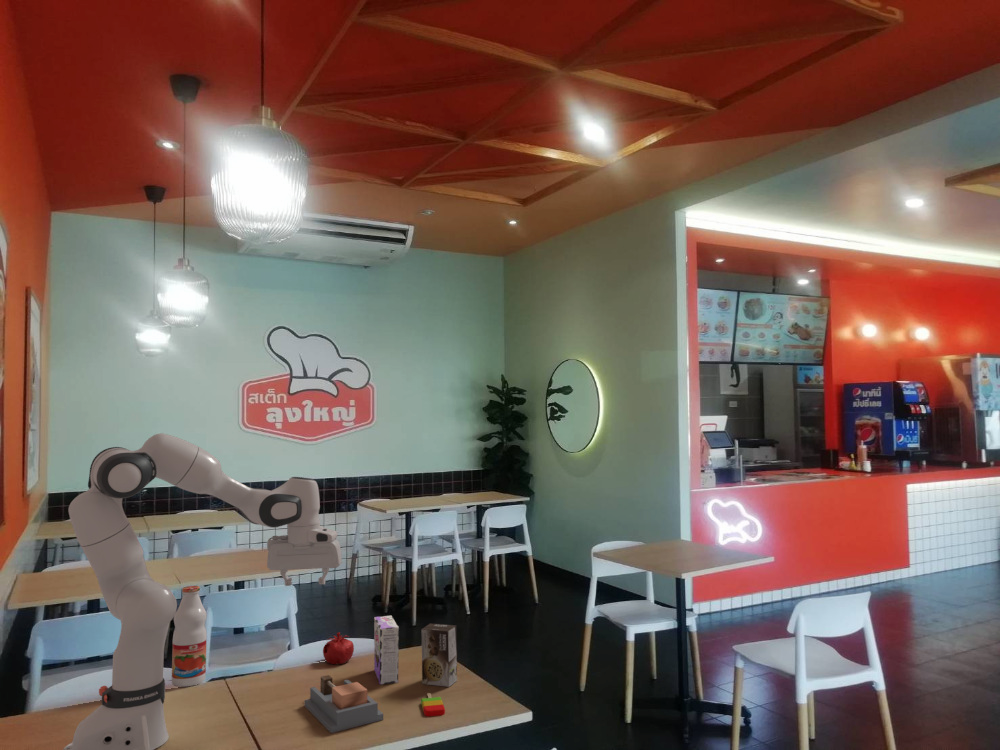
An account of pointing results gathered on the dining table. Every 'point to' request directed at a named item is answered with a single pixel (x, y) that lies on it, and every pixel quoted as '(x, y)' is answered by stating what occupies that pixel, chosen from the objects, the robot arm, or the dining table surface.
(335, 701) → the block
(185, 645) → the fruit juice
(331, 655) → the pomegranate
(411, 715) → the dining table surface
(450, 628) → the coffee box
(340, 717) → the shelf lane
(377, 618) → the candy box
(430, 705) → the popsicle
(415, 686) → the dining table surface
